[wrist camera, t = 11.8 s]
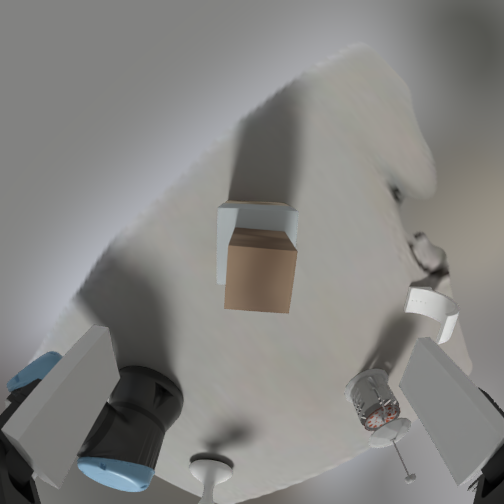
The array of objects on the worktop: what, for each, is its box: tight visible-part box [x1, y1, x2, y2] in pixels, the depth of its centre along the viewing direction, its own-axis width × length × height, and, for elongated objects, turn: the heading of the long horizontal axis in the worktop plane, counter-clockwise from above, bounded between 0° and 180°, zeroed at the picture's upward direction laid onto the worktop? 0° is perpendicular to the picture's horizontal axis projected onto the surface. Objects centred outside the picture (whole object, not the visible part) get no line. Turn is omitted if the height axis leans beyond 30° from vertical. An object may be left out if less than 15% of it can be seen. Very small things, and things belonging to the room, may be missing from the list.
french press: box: [344, 368, 416, 483], centre depth 35 cm, size 10×12×25 cm
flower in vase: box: [189, 460, 233, 504], centre depth 43 cm, size 13×11×25 cm
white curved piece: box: [404, 287, 460, 344], centre depth 37 cm, size 5×6×12 cm
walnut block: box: [224, 227, 297, 313], centre depth 24 cm, size 5×5×8 cm
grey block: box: [217, 203, 299, 285], centre depth 31 cm, size 8×8×6 cm
